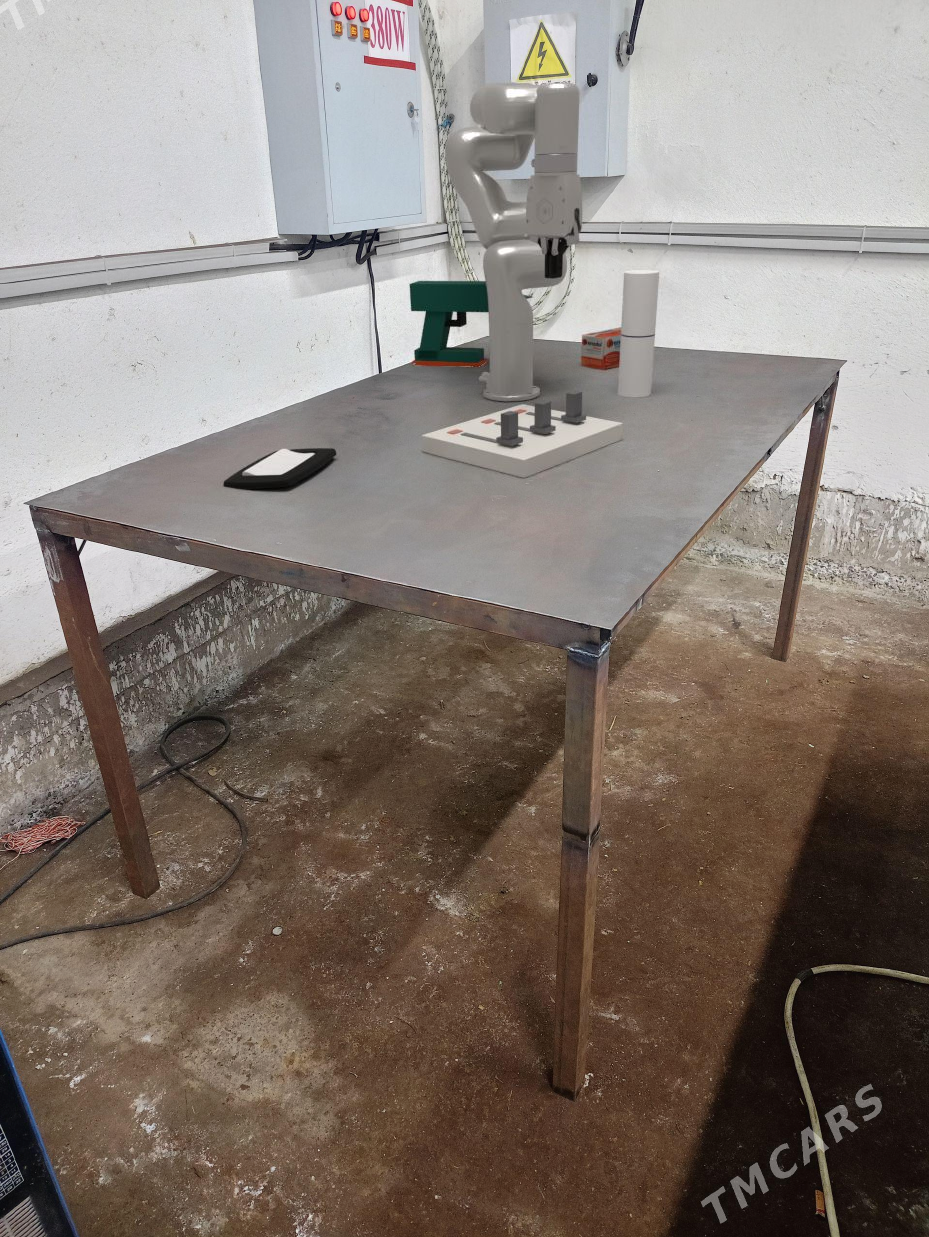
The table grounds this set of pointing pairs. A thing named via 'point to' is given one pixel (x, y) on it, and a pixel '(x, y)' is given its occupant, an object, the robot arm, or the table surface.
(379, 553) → the table surface
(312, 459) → the light switch
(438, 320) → the power tool
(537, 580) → the table surface
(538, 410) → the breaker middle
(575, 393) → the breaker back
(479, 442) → the breaker panel
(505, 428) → the breaker
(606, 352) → the medicine box
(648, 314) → the cylindrical container
